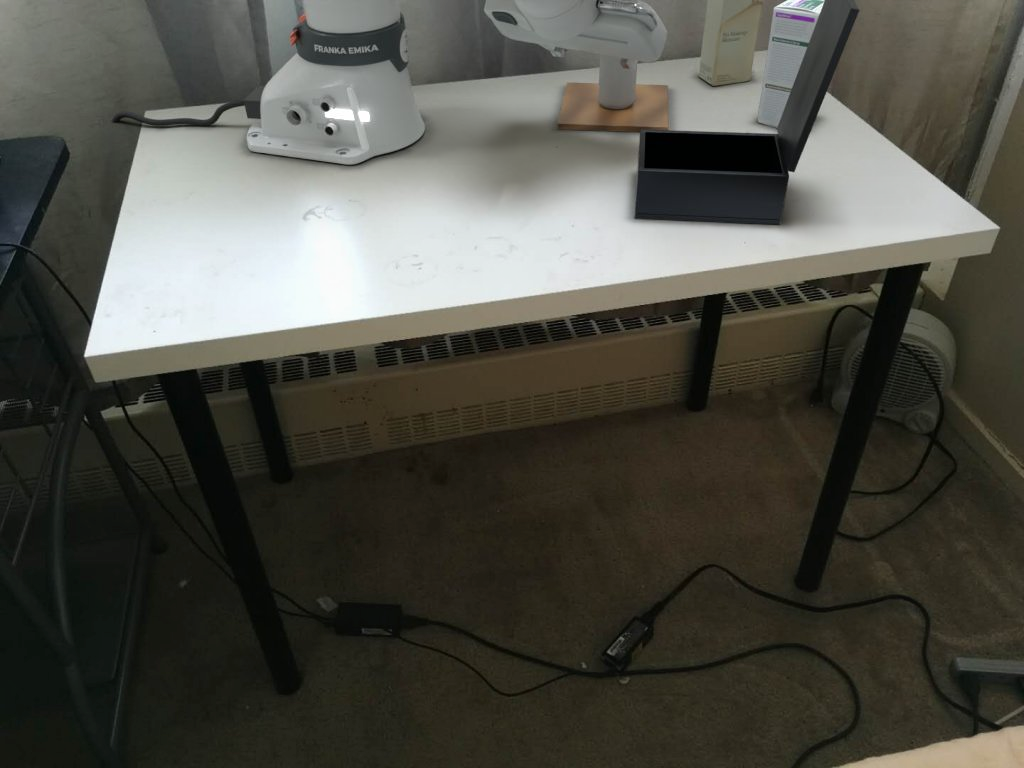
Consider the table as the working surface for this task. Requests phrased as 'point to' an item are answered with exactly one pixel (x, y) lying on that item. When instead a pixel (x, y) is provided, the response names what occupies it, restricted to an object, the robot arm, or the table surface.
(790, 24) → the syrup box
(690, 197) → the black open box
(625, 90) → the beverage can
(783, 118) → the lid
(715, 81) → the cosmetic box
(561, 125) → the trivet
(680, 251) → the table surface
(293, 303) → the table surface
